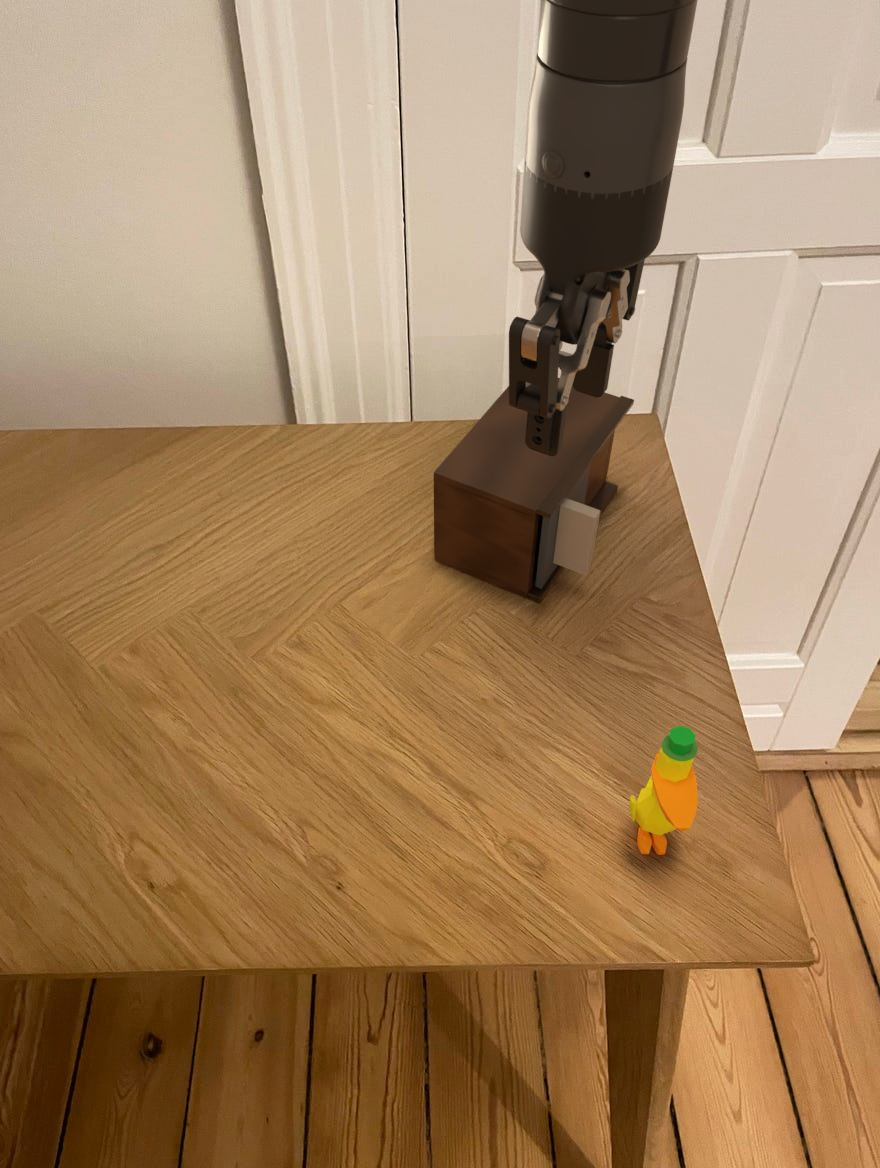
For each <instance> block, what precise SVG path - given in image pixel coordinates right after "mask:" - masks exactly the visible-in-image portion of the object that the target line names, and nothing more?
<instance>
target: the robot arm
mask: <svg viewBox="0 0 880 1168" xmlns="http://www.w3.org/2000/svg"><path fill="white" fill-rule="evenodd" d="M697 7H698V0H540V3H539V16H538V29H537V30H538V31H537V45H536V51H537V52H536V57H535V65H534V72H533V78H532V82H531V87H530V93H529V97H528V106H527V114H526V115H527V117H526V119H527V120H526V133H525V149H524V152H525V153H524V160H523V161H524V163H523V178H522V179H523V181H522V194H521V208H520V209H521V210H520V222H519V223H520V225H519V232H520V233H519V234H520V238H521V241H522V243H523V245H524V247H525V248H526V249H527V251H528V252H529V253H530V254H531V255H533V256H534V258H535V259H536V260H537V261H538V262H539V265H540V266H541V267H542V269H543V274H542V276H541V278H540V279H539V282H538V285H537V288H536V292H535V296H534V305H535V307H536V308H535V311H534V312H535V313H534V315H533V316H532V317H531V319H527V318H523V317H520V316H515V317H514V318H513V320H512V321H511V323H510V326H509V330H508V386H509V405H510V406H512V407H515V408H518V409H521V410H524V411H527V412H528V413H527V425H526V437H525V443H526V445H527V447H528V448H530V449H531V450H534V451H537V452H540V453H543V454H546V455H548V456H555V455H556V454H557V453H558V452H559V451H560V449H561V448H562V444H563V436H564V428H565V419H566V411H567V403H568V400H569V394H570V391H571V388H572V386H573V388H574V389H575V390H576V391H578V392H581V393H584V394H587V395H590V396H593V397H597V398H598V397H601V396H602V395H603V394H604V392H605V393H606V391H607V390H608V386H609V380H610V375H611V366H612V362H613V357H614V356H613V355H614V349H615V344H617V343H618V341H619V340H620V339H621V337H622V335H623V320H624V321H630V320H631V318H632V316H633V315H634V314H635V311H636V302H637V300H638V299H637V298H638V295H639V289H640V284H641V279H642V276H643V271H644V270H643V269H644V265H645V260H646V259H647V258H648V257H650V256H651V255H652V254H653V253H654V251H655V250H656V249H657V247H658V245H659V243H660V241H661V237H662V231H663V226H664V220H665V216H666V209H667V203H668V199H669V193H670V187H671V182H672V176H673V171H674V165H675V159H676V155H677V154H676V153H677V149H678V144H679V138H680V132H681V126H682V121H683V114H684V108H685V107H684V106H685V95H686V75H687V64H688V56H689V50H690V46H691V45H690V44H691V41H692V40H691V39H692V33H693V28H694V23H695V19H696V18H695V17H696V13H697ZM563 343H565V344H569V345H575V346H576V347H575V350H574V352H573V353H570V352H568V351H563V350H562V349H563ZM559 369H560V375H559ZM558 378H560V379H559V383H558ZM557 384H558V386H557Z"/></svg>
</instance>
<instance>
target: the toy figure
mask: <svg viewBox="0 0 880 1168" xmlns="http://www.w3.org/2000/svg"><path fill="white" fill-rule="evenodd" d="M696 737H697V735H696V734H695V733H694V731H693V730H692V729H691V728H690V727H686V726H684V725H683V726H682V725H677V726H674V727H671V728H670V731H669V734H667V735H666V736H664V737H663V739H662V740H661V743H660V745H661V746H660V749H659V751H657V752H656V755H655V757H654V760H653V763H652V765H651V767H650V777H649V780H648V781H647V784H646V786H645V787H643V788H641V789H640V792H639V795H638V797H637V798H636V796H635V795H633V794H632V795H630V796H629V801H628V805H629V813H630V817H631V820H632V822H633V824H634V822H635V820H636V822H637V824H638V825H639V827H638V829H637V840H636V844H637V849H638V850H639V852H640V855H649V854H650V852H651V849H652V848H653V850H654V852H655V853H656V855H657V856H661V855H662V856H663V855H664V856H665V854H666V853H667V852H666V851H667V845H668V840H667V838H666V836H665V834H667V833H670V832H673V831H675V830H678V831H680V832H681V833H682V832H685V831H687V830H690V829H691V826H692V824H693V822H694V820H695V818H696V815H697V810H698V804H699V798H698V795H699V794H698V782H697V777H696V773H695V768H694V766H693V763H694V760H695V757H696V756H697V754H698V751H699V750H698V749H699V748H698V745H697V742H696V741H695V740H696ZM650 833H651V834H650Z"/></svg>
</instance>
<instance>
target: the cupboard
mask: <svg viewBox="0 0 880 1168" xmlns="http://www.w3.org/2000/svg"><path fill="white" fill-rule="evenodd" d="M559 379H560V377H558V383H559ZM557 386H558V384H557ZM634 403H635V399H633V398H630V397H627V396H624V395H620V396H617V395H614V394H612V393H608V392H606V391H605V392H604V394H603V395H602V396H601V397H598V398H597V397H593V396H590V395H587V394H584V393H581V392H578V391H576V390H575V389H574V388H573V386H572V388H571V391H570V394H569V400H568V403H567V411H566V419H565V428H564V436H563V444H562V448H561V449H560V451H559V452H558V453H557V454H556V455H555V456H548V455H546V454H543V453H540V452H537V451H534V450H531V449H530V448H528V447H527V445H526V443H525V437H526V425H527V413H528V412H527V411H524V410H521V409H518V408H515V407H512V406H510V405H509V385H508V386H507V387H506V388H505V390H504V391H502V393H501V394H500V395H499V396H498V397H497V399H496V400H495V401H494V402H493V403H492V404H491V406H489V408H488V409H487V410H486V411H485V412H484V414H483V415H482V416H481V417H480V418H479V419H478V420H477V422H476V423H475V424H474V425H473V426H472V427H471V428H470V430H469V431H467V433H465V435H464V437H463V438H462V439H461V440H460V441H459V442H458V444H457V445H456V446H455V447H454V448H453V449H452V450H451V452H450V453H449V454H448V455H447V456H446V457H445V459H444V460H443V461H442V462H441V463H440V464H439V465H438V466H437V468H436V469H435V470H434V471H433V557H434V558H433V559H434V561H435V562H438V563H439V564H443V565H445V566H448V567H450V568H452V569H454V570H458V571H459V572H461V573H465V574H467V575H469V576H472V577H474V578H476V579H479V580H481V581H484V582H486V583H489V584H491V585H494V586H496V587H498V588H501V589H504V590H505V591H508V592H510V593H513V594H516V595H518V596H520V597H522V598H525V599H528V600H530V601H531V602H534V603H537V604H541V603H542V602H543V600H544V598H545V597H546V596H547V594H548V593H549V592H550V590H551V588H552V587H553V586H554V584H555V582H556V581H557V580H558V578H560V575H561V574H562V572H563V571H564V570H565V569H566V568H565V567H562V566H560V565H558V566H557V567H556V569H555V570H554V571H553V573H552V574H551V576H550V577H549V579H548V580H547V582H546V583H545V584H544V586H543V587H542V589H540V588H537V587H535V583H536V574H537V565H538V556H539V547H540V538H541V529H542V519H543V516H544V517H547V518H549V519H550V518H551V517H552V515H553V514H554V512H555V511H556V510H557V508H558V507H559V506H560V504H561V503H562V501H563V500H564V499H565V497H566V496H567V495H568V493H569V492H570V490H571V489H572V488H573V486H574V485H575V484H576V482H577V481H578V480H579V478H580V477H581V475H582V474H583V473H584V471H585V470H586V469H587V467H588V466H589V464H590V463H591V465H590V471H589V478H588V484H587V491H586V497H585V504H584V505H587V506H589V507H592V508H595V509H598V510H600V516H602V514H603V512H604V511H605V509H606V508H607V506H608V505H609V504H610V502H611V501H612V499H613V498H614V497H615V495H616V493H617V492H618V489H619V485H618V484H615V483H612V482H609V481H607V478H608V472H609V468H610V467H609V466H610V460H611V456H612V449H613V445H614V438H615V433H616V429H617V427H618V426H619V425H620V423H621V422H622V421H623V419H624V418H625V417H626V415H627V414H628V412H629V411H630V409H632V407H633V406H634Z"/></svg>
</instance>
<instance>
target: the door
mask: <svg viewBox="0 0 880 1168" xmlns="http://www.w3.org/2000/svg"><path fill="white" fill-rule="evenodd" d="M590 465H591V463H590V464H589V466H588V467H587V469H586V470H585V471H584V473H583V474H582V475H581V477H580V478H579V480H578V481H577V482H576V484H575V485H574V486H573V488H572V489H571V490H570V492H569V493H568V495H567V496H566V497H565V499H564V500H563V501H562V503H561V504H560V506H559V507H558V508H557V510H556V511H555V512H554V514H553V515H552V517H551V518H550V519H549V518H547V517H544V516H543V519H542V529H541V538H540V547H539V556H538V565H537V574H536V583H535V587H537V588H540V589H542V587H543V586H544V584H545V583H546V582H547V580H548V579H549V577H550V576H551V574H552V573H553V571H554V570H555V569H556V567H557V566H558V565H560V566H562V567H565V568H564V569H567V570H570V571H571V572H572V571H573V572H575V573H578V574H579V575H582V576H585V577H586V576H588V574H589V572H590V571H591V569H592V563H593V558H594V551H595V546H596V539H597V535H598V534H597V533H598V528H599V523H600V517H601V515H600V510H598V509H595V508H592V507H589V506H587V505H584V504H585V497H586V491H587V484H588V478H589V471H590Z"/></svg>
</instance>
